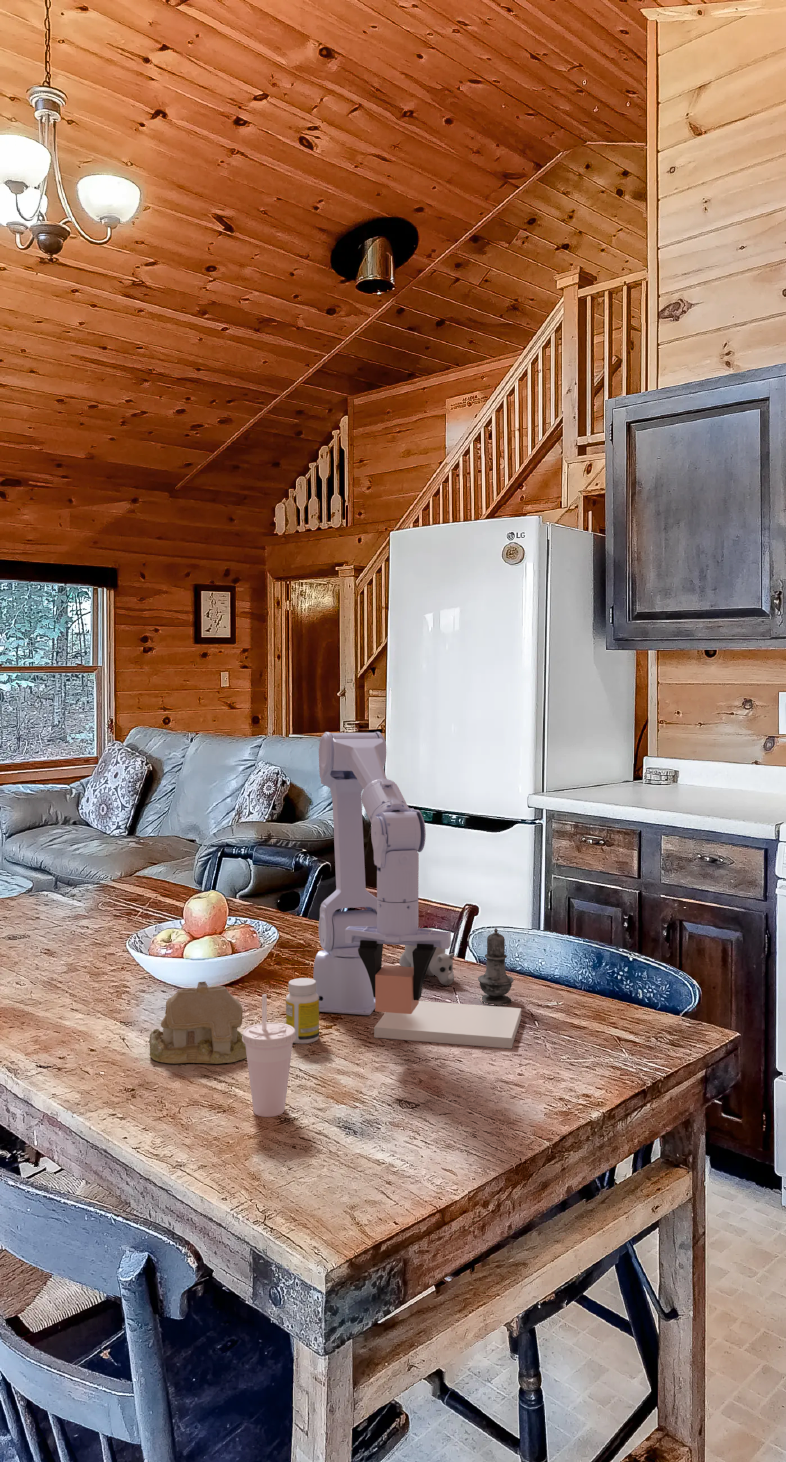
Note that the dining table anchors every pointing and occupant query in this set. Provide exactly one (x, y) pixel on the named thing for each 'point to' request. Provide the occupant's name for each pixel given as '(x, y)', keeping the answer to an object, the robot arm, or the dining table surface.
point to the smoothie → (268, 1063)
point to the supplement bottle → (303, 1010)
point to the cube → (395, 990)
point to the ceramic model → (200, 1028)
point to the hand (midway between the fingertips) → (397, 996)
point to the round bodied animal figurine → (432, 963)
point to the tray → (453, 1024)
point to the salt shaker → (495, 972)
